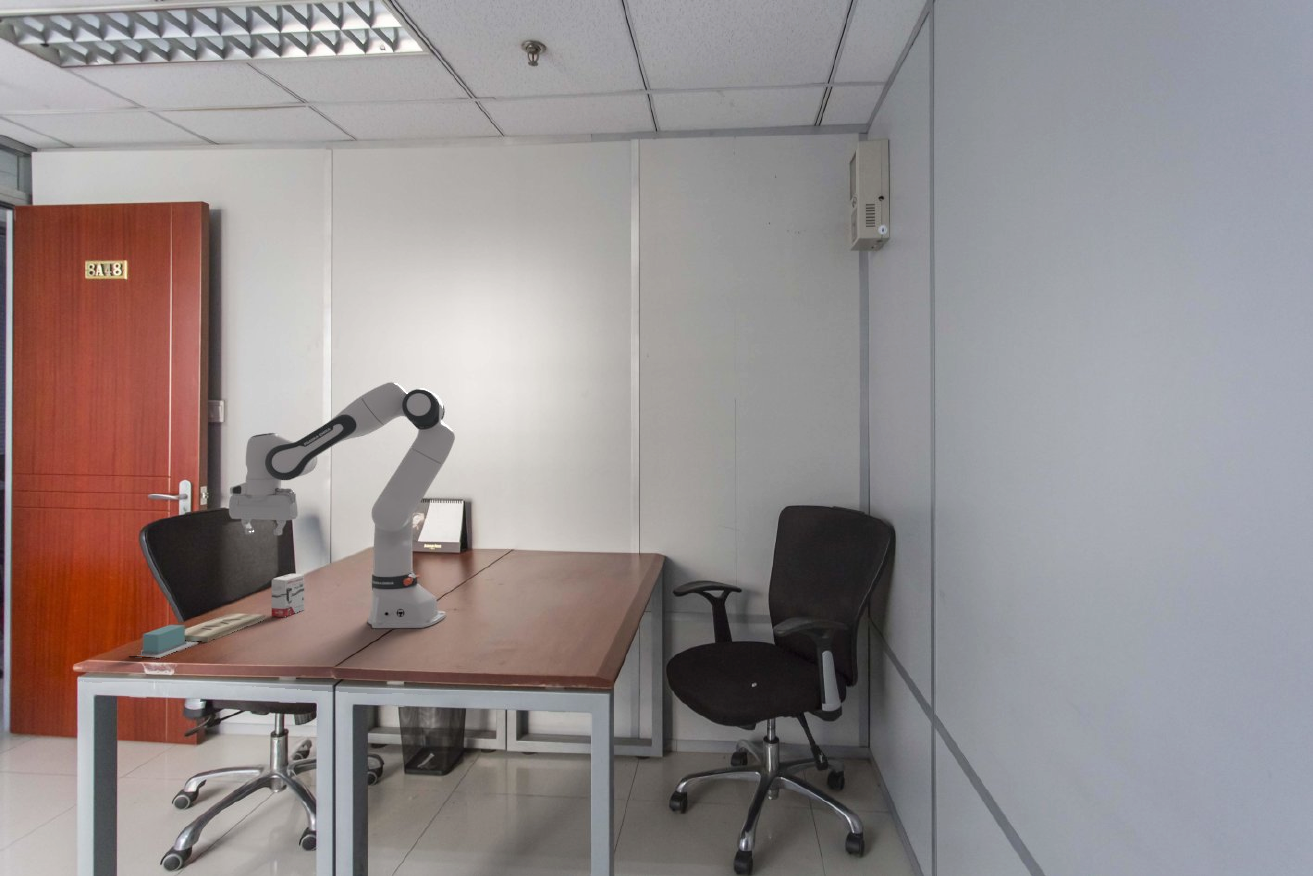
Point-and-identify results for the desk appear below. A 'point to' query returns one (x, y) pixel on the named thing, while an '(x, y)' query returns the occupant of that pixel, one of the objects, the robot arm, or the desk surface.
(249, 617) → the birch board
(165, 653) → the rest mat
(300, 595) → the ink box
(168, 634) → the sanding block
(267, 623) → the desk surface
